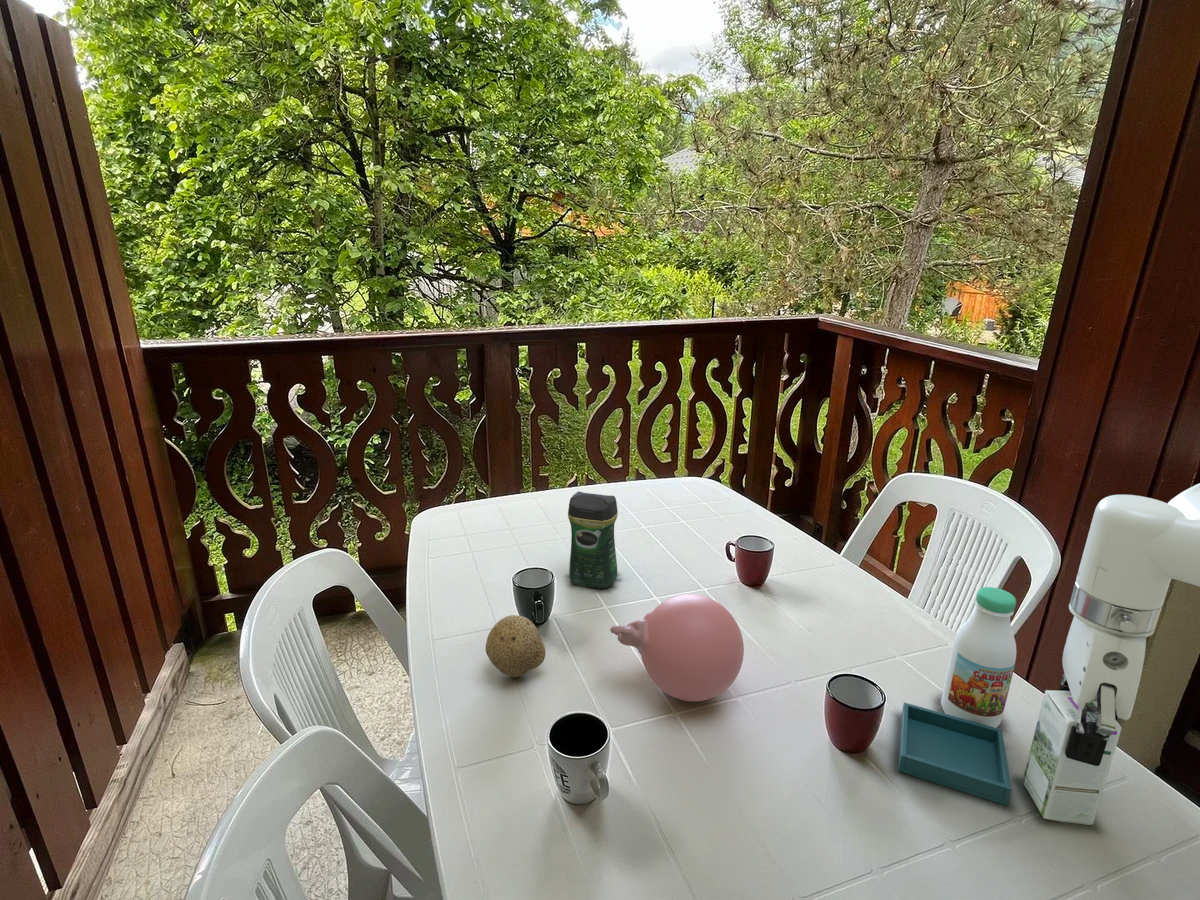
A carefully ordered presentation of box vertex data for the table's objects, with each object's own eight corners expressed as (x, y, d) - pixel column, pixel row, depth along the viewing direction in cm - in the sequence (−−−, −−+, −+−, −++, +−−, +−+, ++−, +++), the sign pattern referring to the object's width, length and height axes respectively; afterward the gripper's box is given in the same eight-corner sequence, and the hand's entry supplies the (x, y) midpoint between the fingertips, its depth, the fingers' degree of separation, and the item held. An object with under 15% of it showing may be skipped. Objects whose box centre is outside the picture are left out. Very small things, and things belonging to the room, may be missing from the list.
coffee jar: (621, 574, 132) (622, 490, 126) (609, 593, 125) (610, 505, 119) (577, 566, 135) (577, 484, 129) (563, 584, 128) (562, 499, 122)
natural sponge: (479, 664, 103) (476, 610, 100) (530, 649, 107) (528, 597, 104) (497, 698, 96) (494, 641, 93) (551, 680, 100) (550, 625, 97)
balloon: (618, 649, 107) (620, 568, 103) (739, 664, 104) (746, 581, 99) (600, 711, 93) (601, 621, 88) (740, 732, 89) (748, 638, 85)
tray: (998, 744, 87) (1001, 729, 87) (1007, 806, 78) (1011, 789, 77) (901, 716, 93) (903, 702, 92) (898, 771, 83) (901, 755, 82)
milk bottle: (928, 702, 96) (952, 584, 89) (968, 692, 98) (994, 576, 92) (970, 738, 89) (999, 613, 82) (1013, 726, 91) (1044, 604, 85)
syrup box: (1095, 827, 75) (1127, 726, 71) (1040, 819, 76) (1069, 720, 72) (1069, 788, 81) (1097, 693, 76) (1018, 782, 81) (1043, 687, 77)
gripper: (1185, 660, 61) (1134, 805, 66) (1133, 578, 76) (1096, 702, 81) (1089, 639, 64) (1049, 779, 69) (1058, 565, 79) (1027, 685, 84)
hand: (1074, 737), depth 75 cm, fingers closed on syrup box, 6 cm apart
